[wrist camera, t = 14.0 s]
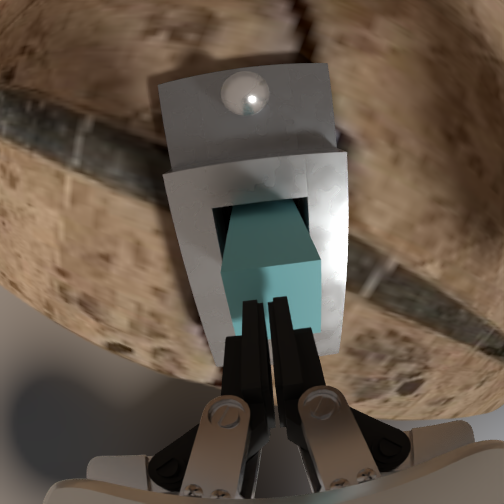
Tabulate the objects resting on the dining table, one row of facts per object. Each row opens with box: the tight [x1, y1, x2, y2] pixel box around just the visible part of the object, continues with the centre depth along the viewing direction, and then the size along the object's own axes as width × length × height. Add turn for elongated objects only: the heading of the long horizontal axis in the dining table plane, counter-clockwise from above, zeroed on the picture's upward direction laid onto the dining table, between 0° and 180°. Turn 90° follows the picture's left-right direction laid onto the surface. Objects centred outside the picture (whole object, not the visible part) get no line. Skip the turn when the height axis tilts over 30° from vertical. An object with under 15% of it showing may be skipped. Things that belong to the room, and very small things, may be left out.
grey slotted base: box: [158, 63, 348, 366], centre depth 18 cm, size 11×22×5 cm, turn 7°
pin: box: [220, 198, 321, 339], centre depth 16 cm, size 4×4×10 cm
